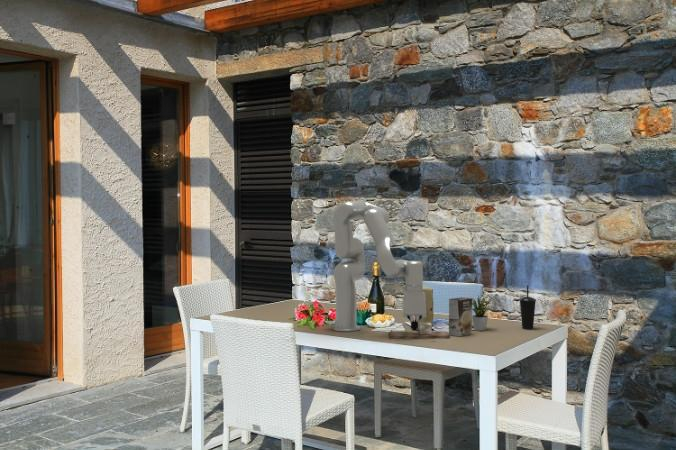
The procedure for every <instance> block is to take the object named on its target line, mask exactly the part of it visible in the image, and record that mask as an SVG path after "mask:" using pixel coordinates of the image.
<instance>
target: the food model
mask: <svg viewBox="0 0 676 450" xmlns="http://www.w3.org/2000/svg"><path fill="white" fill-rule="evenodd" d="M423 292H425V298H426V315H427V316H426V317H423V318H421V319H420V320H419V321H418V327H419V323H431V325H432V327H433V328H434V289H433V288H432V287H430V286H426V285H423ZM415 319H416V315H414V320H415Z"/></svg>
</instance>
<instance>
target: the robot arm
mask: <svg viewBox="0 0 676 450" xmlns="http://www.w3.org/2000/svg"><path fill="white" fill-rule="evenodd" d="M332 220H333V227H334V247H335V248H334V249H335V254H336V256H337V257H338V258H340V259H341V260H346V261H343V262H342V261H341V262H339V263H338V264H337V265H335V267H334V270H333V279H334V283H335V284H334V286H335V319H334V320H326V326H332V330H334V331H336V332H357V331H360V330H361V327H360V325H357V315H358V314H357V312H358V311H357V287H356V284H355V282H356V281H359V280H361V279H362V278H364V275H365V274H366V261H365V257H366V256H365V248H364V244H363V242H362V240H360V239H359V238H357V237H354V236H353V235H354V233H353V231H354V230H353V226H352V224H351V220H362V221H364V223H365V225H366V227H367V230H368V231H369V234H370V235H371V237H372V239H373V242H374V243H375V253H376V258H377V262H378V264H379V265H380V268H381V269H382V271H383V274H385V275H386V276H387V277H388V278H390V279H393V278H400V277H405V285H404V286H402V287H401V288H402V290H404V292H403V296H402V297H403V298H402V314H401V315H402V316H401V317H402V318H406V319H407V320H409V321H410V329H411V330H412V332H418V331H417V329H418V330H419V328H418V321H419V320H420V319H421V318H423V317H426V316H427V315H426V298H425V292H423V286H424V281H423V279H424V278H423V277H424V273H423V271H424V270H423V262H422V261H420V260H406V259H395V258H394V256H393V253H392V251H391V243H392V240H393V234H392V232H391V230H390V228H389V226H388V224H389V222H390V213H389V212H388V211H387V210H386V209H385V208H383V207H380V206H378V205H376V204H375V205H374V204H372V203H370V202H367V201H363V200H347V201H344V202H341V203H340V204H339V205H337V206H336V208H335V209H334V212H333V216H332ZM415 315H416V319H415V318H414V316H415Z"/></svg>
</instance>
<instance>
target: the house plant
mask: <svg viewBox="0 0 676 450" xmlns="http://www.w3.org/2000/svg"><path fill="white" fill-rule="evenodd" d="M476 296H477V298H474V297H472V296H470V298H472V312H474V313H475V314H474V315H473V314H472V325H473V330H475V331H478V332H479V331H480V332H481V331H486V330H487V323H488V318H489V317H488V315H486V313H487V312H488V311H491V312H493V309H491V308H493V306H488V305H490V304H492V301H493V300H494V298H492V299H489V300H488V301H486V298H487V297H486V296H485V295H483V296H482V298H481V299H480V297H479V294H478V293H477V295H476ZM475 299H476V300H475ZM487 306H488V307H487Z"/></svg>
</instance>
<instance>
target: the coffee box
mask: <svg viewBox="0 0 676 450" xmlns="http://www.w3.org/2000/svg"><path fill="white" fill-rule="evenodd" d="M472 298H473V297H472ZM472 298H471V297H454V298H449V299H448V334H449V335H450V336H455V337H463V336H469V335H472V334H473V318H472V316H473V310H472V309H473V305H472V303H473V300H472Z"/></svg>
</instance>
